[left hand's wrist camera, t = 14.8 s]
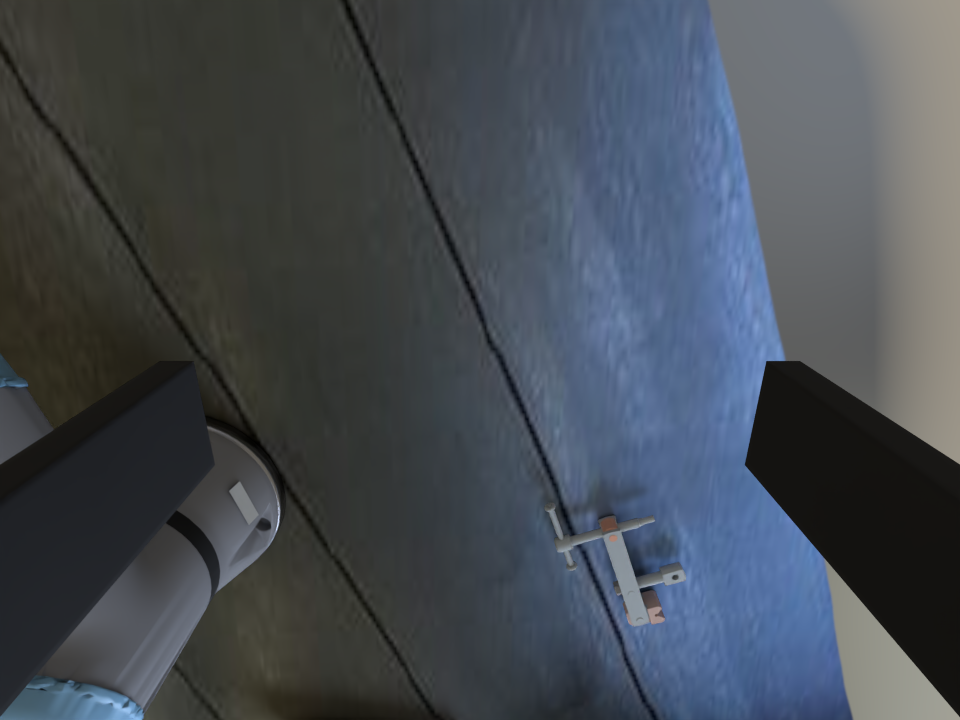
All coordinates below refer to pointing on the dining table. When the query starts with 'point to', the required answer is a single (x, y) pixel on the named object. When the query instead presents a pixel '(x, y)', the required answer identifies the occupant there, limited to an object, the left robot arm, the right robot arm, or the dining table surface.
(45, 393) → the dining table surface
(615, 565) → the clamp
